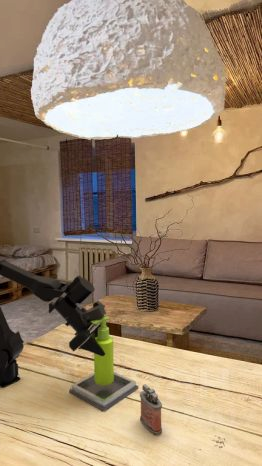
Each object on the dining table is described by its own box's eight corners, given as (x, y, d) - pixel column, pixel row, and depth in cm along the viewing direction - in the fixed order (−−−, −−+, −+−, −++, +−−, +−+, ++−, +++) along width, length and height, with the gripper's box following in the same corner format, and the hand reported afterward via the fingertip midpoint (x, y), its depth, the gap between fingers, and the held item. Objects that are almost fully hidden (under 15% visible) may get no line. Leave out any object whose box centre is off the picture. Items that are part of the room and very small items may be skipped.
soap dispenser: (87, 381, 105) (86, 318, 103) (105, 373, 110) (104, 312, 107) (99, 389, 101) (98, 323, 98) (117, 380, 106) (116, 317, 103)
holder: (104, 411, 95) (104, 404, 95) (69, 392, 105) (69, 385, 105) (138, 388, 107) (138, 381, 107) (103, 373, 116) (103, 366, 116)
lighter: (165, 432, 87) (165, 395, 86) (153, 437, 85) (153, 399, 84) (148, 415, 94) (147, 380, 93) (137, 419, 92) (136, 383, 91)
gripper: (78, 305, 95) (118, 347, 94) (98, 287, 113) (131, 322, 112) (52, 331, 97) (90, 372, 96) (75, 309, 115) (108, 344, 114)
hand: (107, 350), depth 104 cm, fingers closed on soap dispenser, 6 cm apart
